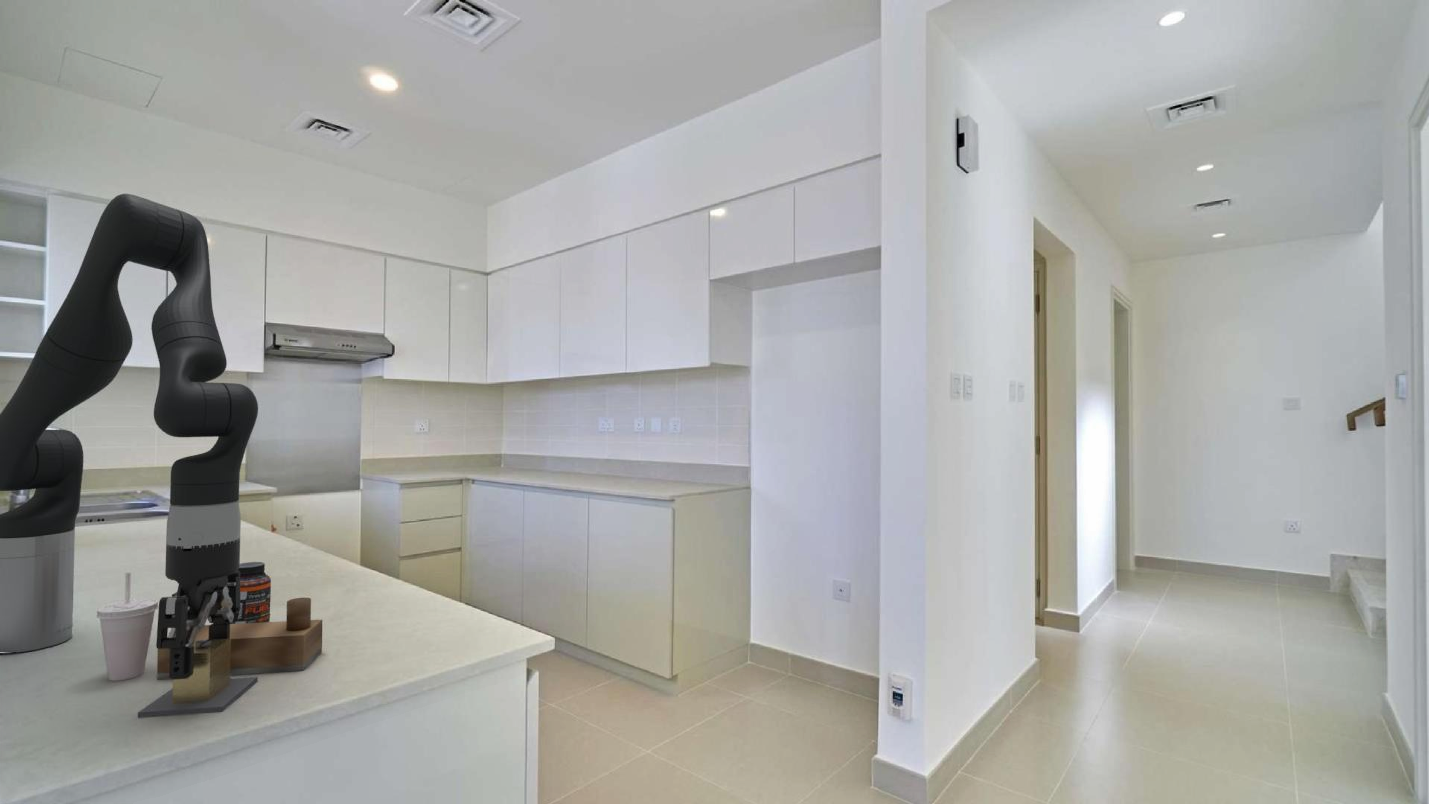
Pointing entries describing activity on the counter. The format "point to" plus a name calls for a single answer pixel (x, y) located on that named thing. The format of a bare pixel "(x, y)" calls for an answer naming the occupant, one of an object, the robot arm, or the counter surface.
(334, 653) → the counter surface
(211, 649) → the brushed brass block
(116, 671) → the smoothie
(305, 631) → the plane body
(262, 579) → the supplement bottle
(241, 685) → the mat
